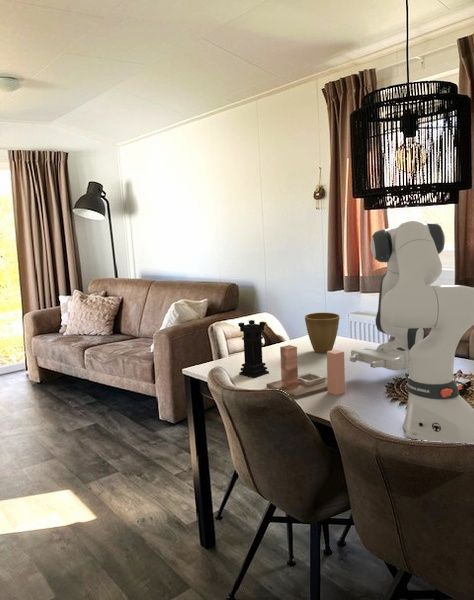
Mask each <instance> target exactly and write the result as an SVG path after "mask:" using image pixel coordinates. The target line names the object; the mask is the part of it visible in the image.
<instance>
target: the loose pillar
mask: <svg viewBox="0 0 474 600" xmlns="http://www.w3.org/2000/svg"><path fill="white" fill-rule="evenodd" d="M326 370H327V371H326V375H327V377H326V378H327V385H328V390H327V393H329V394H331V395H334V396H338V395H342V394H346V383H345V382H346V381H345V379H346V378H345V377H346V375H345V374H346V373H345V351H343V350H339V349H332V351H327V354H326Z"/></svg>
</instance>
